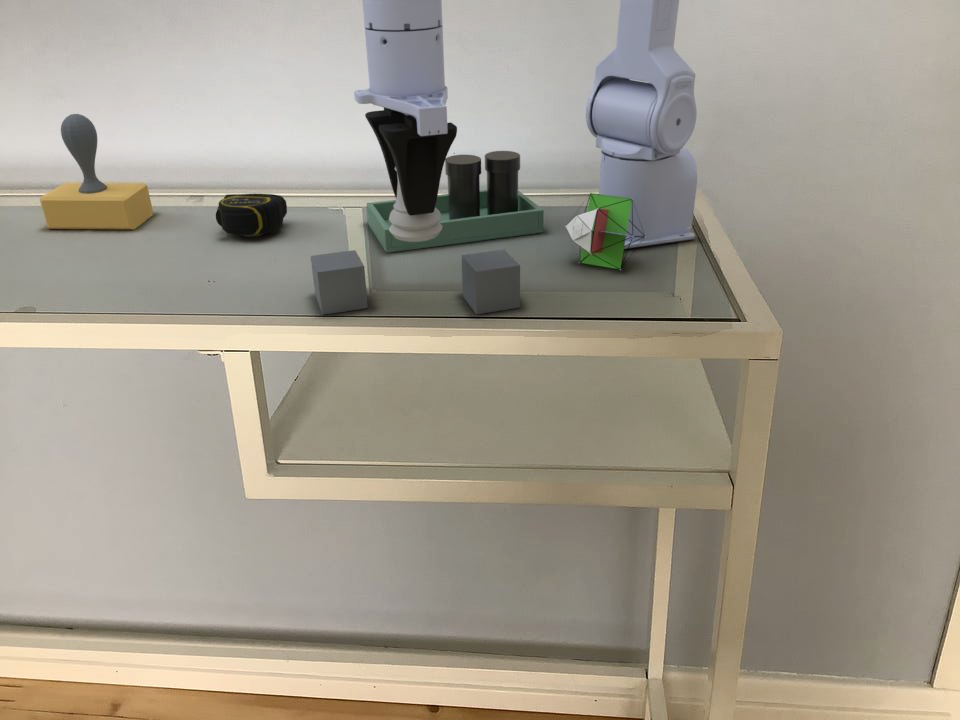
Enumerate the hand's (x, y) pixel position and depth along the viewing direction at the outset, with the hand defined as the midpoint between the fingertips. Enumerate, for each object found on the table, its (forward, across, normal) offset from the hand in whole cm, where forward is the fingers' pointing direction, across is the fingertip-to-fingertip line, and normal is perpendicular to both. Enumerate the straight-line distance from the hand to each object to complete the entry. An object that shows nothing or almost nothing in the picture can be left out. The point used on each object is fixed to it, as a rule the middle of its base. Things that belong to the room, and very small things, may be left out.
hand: (414, 205), depth 66 cm
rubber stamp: (+10, -35, -28) cm, 46 cm away
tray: (+9, -19, +9) cm, 23 cm away
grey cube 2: (+9, +1, +6) cm, 11 cm away
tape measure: (+10, -26, -12) cm, 30 cm away
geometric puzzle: (+10, -4, +20) cm, 22 cm away
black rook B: (+9, -19, +10) cm, 23 cm away
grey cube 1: (+9, -4, -6) cm, 12 cm away
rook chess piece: (+3, 0, 0) cm, 3 cm away
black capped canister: (+9, -19, +14) cm, 25 cm away
